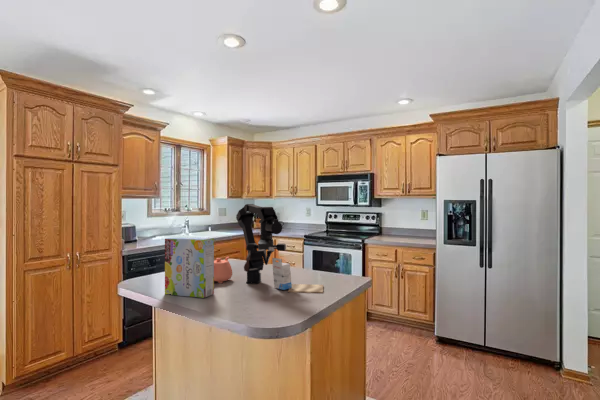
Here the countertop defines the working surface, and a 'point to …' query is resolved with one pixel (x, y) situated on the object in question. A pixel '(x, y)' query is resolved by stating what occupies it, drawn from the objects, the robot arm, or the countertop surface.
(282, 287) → the ink box
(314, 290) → the cork trivet
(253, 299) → the countertop surface
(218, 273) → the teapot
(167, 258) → the snack box
